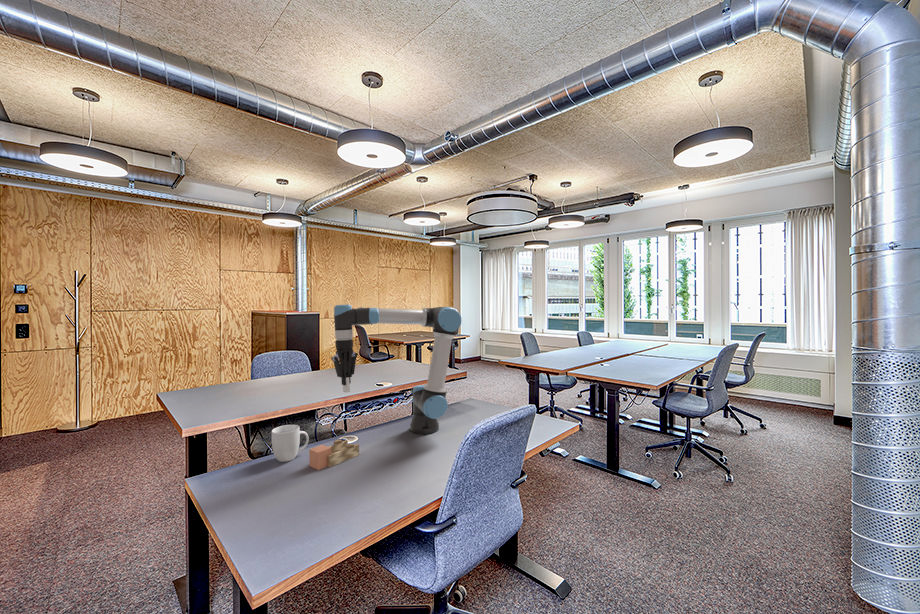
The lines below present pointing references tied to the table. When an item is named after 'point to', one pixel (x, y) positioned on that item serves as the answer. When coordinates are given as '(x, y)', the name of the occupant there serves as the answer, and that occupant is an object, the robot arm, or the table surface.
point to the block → (319, 457)
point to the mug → (287, 442)
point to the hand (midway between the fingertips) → (346, 391)
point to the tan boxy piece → (342, 452)
